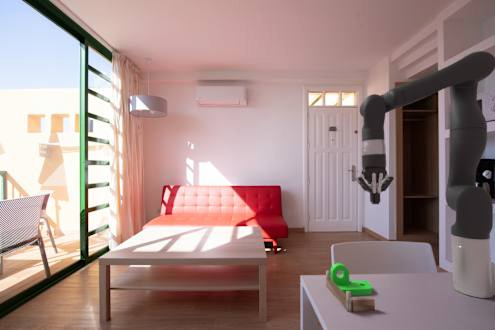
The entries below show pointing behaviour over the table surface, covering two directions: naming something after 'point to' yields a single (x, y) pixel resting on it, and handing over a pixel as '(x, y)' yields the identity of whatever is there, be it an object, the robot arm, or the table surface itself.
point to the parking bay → (349, 298)
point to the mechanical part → (347, 285)
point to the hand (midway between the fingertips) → (375, 204)
